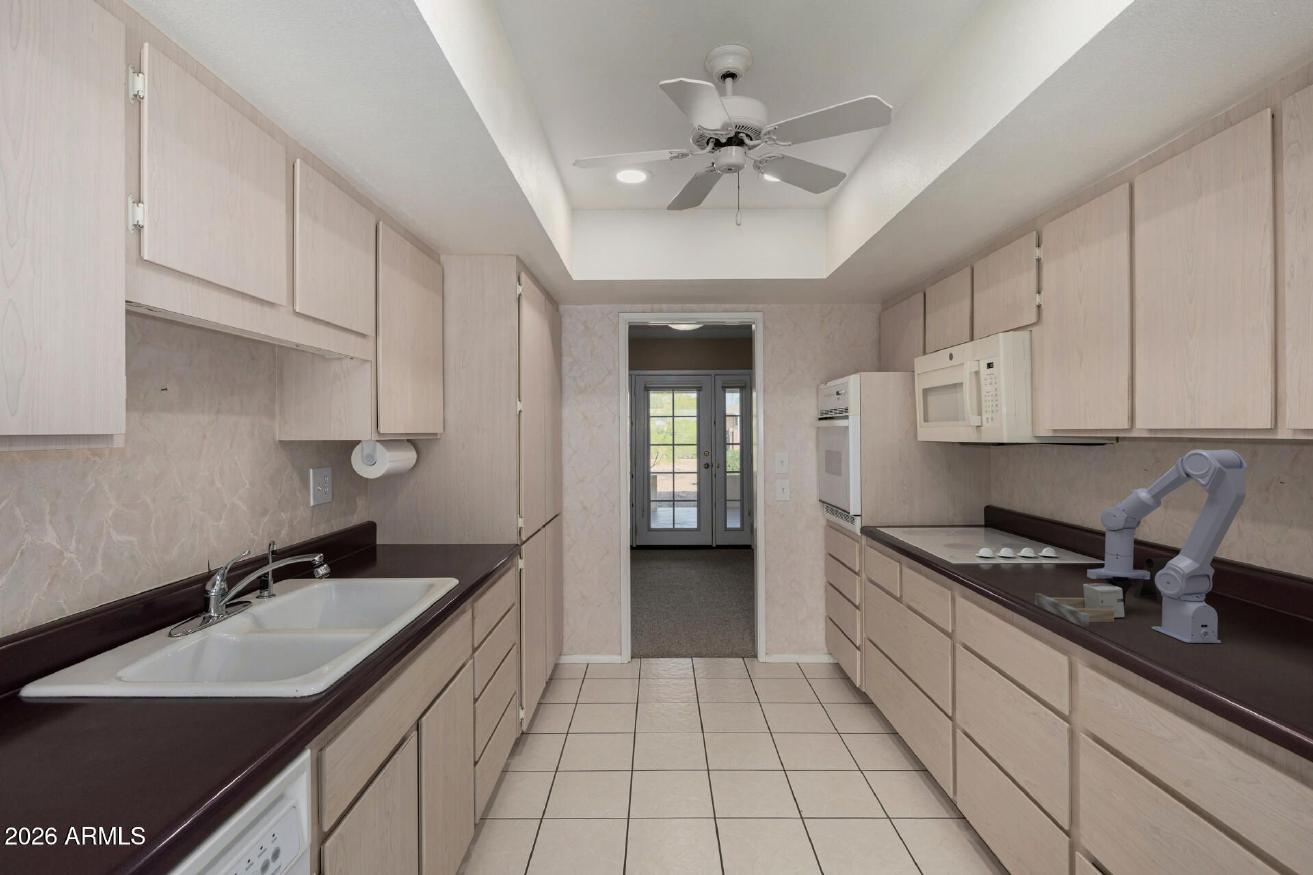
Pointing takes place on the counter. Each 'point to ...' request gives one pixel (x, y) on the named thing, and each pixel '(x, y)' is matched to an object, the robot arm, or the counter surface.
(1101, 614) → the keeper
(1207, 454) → the robot arm
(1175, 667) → the counter surface
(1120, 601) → the skincare box
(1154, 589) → the door stopper
